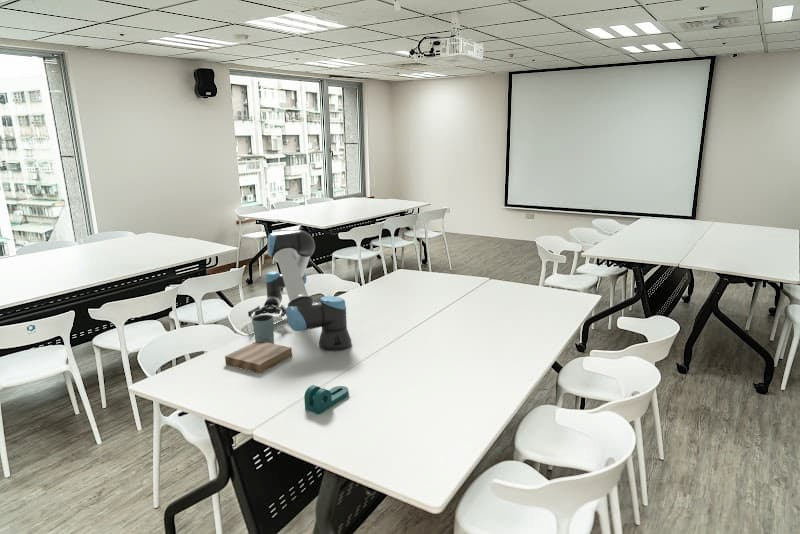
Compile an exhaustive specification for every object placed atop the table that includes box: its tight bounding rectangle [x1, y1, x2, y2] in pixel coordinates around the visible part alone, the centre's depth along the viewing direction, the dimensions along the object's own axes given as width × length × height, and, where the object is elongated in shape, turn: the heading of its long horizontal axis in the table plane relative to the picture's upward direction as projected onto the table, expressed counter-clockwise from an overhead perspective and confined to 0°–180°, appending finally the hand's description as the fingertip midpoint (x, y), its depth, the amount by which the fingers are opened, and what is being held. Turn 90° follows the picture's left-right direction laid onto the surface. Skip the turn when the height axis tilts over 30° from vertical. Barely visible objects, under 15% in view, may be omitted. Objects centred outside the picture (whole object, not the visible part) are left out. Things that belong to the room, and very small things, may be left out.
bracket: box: [303, 384, 350, 415], centre depth 184 cm, size 18×7×8 cm, turn 145°
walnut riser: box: [224, 340, 293, 374], centre depth 221 cm, size 20×20×4 cm
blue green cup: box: [251, 314, 275, 344], centre depth 242 cm, size 10×10×12 cm
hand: (266, 318), depth 251 cm, fingers open, 13 cm apart
